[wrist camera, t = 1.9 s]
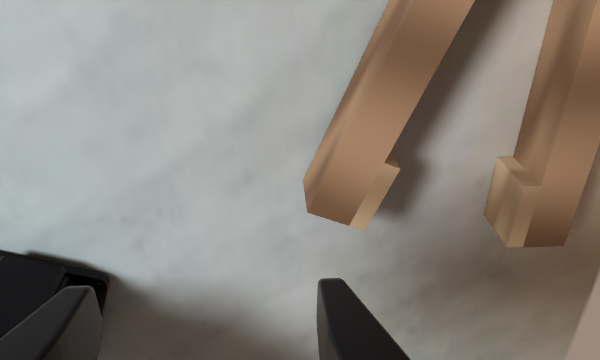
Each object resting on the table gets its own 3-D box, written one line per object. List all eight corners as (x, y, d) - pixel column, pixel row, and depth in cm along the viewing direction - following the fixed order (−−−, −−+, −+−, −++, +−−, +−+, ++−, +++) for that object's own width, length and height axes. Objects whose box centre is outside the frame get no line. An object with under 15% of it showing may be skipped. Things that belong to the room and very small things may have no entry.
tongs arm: (386, 208, 22) (407, 262, 19) (303, 180, 21) (310, 232, 18) (647, -235, 15) (757, -273, 11) (538, -310, 14) (624, -376, 10)
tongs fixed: (535, 213, 23) (570, 253, 20) (437, 215, 23) (459, 256, 20) (686, -286, 14) (780, -327, 12) (531, -293, 14) (591, -336, 11)
